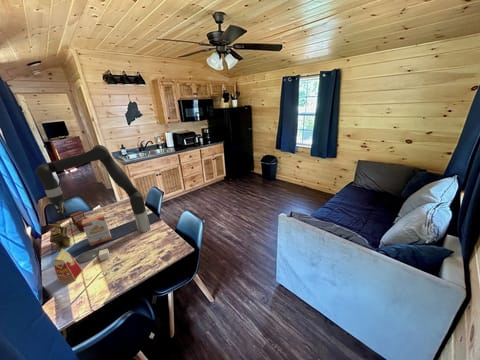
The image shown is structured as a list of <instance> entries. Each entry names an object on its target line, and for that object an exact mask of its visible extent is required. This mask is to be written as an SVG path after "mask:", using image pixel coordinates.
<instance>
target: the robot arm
mask: <svg viewBox="0 0 480 360" xmlns="http://www.w3.org/2000/svg"><path fill="white" fill-rule="evenodd" d="M95 161H99V162H100V163H102V165H103V166H104V167H105V170H106V172H107V174H108V175H109V177H110V178H111V180H112V181H113V183H114V184H116V185H117V187H119V188H121V189H122V190H123V191H124V192H125V193H126V195H127V196H128V198H129V203H130V207H131V210H132V213H133V217H134V220H135V224H136V227H137V231H138V232H139V233H147V232H148V231H150V230H151V223H150V221H149V217H148V213H147V209H146V204H145V201H144V196H143V194H142V193H141V192H140V191H139V190H138V189H137V188H136V187H135V185H134V184H133V183H132V181H131V180H130V178H129V176H128V175H127V173H126V171H124V170H123V168H121V166H120V165H119V164H118V163H117V162H116V161H115V160H114V157H112V155H111V154H110V152H109V150H108V148H107V147H106V146H104V145H102V144H96V145H95V146H93V147H92V149H90V150H89V151H85V152H84V153H80V154H76V155H71V156H67V157H64V158H61V159H57V160H55V161H50V162H45V163H43V164H40V165H39V166H38V167H36V169H35V175H36V177H37V178H38V180H39V181H40V182H41V184H42V187H43V189H44V192H45V194H46V197H47V199H48V201H49V203H50V204H54V207H53V208H54V210H55V213H56V215H57V216H59V218H60V219H61V220H63V219H65V218H66V216H65V214H67V209H66V203H65V202H64V200H65V196H64V193H63V191H62V189H61V187H60V185H59V183H58V181H57V179H56V178H54V176H53V173H56V172H62V171H66V170H70V169H72V168H75V167H78V166H82V165H83V164H87V163H91V162H95Z"/></svg>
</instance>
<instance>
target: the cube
mask: <svg viewBox="0 0 480 360" xmlns="http://www.w3.org/2000/svg"><path fill="white" fill-rule="evenodd" d="M109 255H110V252H109V249H108V248H105V249H101V250H99V251H98V257H99V260H100V261H101V262H103V261H106V260H108V259H110V256H111V255H110V256H109Z"/></svg>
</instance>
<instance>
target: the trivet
mask: <svg viewBox="0 0 480 360" xmlns="http://www.w3.org/2000/svg"><path fill="white" fill-rule="evenodd" d="M98 255H99V251H98V250H97V249H90V250H89V249H88V250H87V251H83V253H80V254H79V255H78V256H77V258H76V262H77V263H78V264H80V263H81V264H82V263H87V262H90V261H92V260H93V259H95V258H96V257H97V256H98Z"/></svg>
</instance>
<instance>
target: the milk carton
mask: <svg viewBox="0 0 480 360" xmlns="http://www.w3.org/2000/svg"><path fill="white" fill-rule="evenodd" d="M59 251H60V252H58V253H57V254H56V257H55V258H54V259H53V261H52V262H53V267H54V271H55V275H56V277H57V280H58V282H59V283H62V284H64V283H65V284H69V283H72V282H75V281H77V279H78V277H79V276H80V275H81V274H82V273H83V272H84V270H83V269H82V267H81V266H80V263H79V262H78V261H77V260H76V259H75V258H74V257H73V256H72V255H71V253H69V252H68V251H66V250H64V249H63V248H62V249H61V250H59Z"/></svg>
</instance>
